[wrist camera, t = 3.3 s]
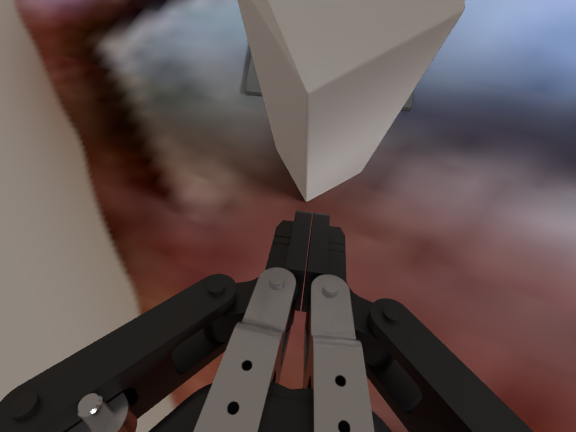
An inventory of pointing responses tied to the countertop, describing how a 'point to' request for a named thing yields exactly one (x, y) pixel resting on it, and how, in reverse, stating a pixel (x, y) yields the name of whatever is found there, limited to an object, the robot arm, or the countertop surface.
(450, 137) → the countertop surface
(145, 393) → the robot arm
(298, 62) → the milk
